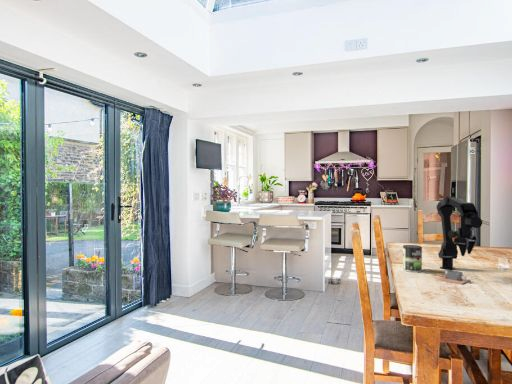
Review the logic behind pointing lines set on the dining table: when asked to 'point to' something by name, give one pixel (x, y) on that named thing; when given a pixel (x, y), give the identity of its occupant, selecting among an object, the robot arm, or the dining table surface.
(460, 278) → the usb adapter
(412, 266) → the coffee can
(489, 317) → the dining table surface
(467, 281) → the plate
